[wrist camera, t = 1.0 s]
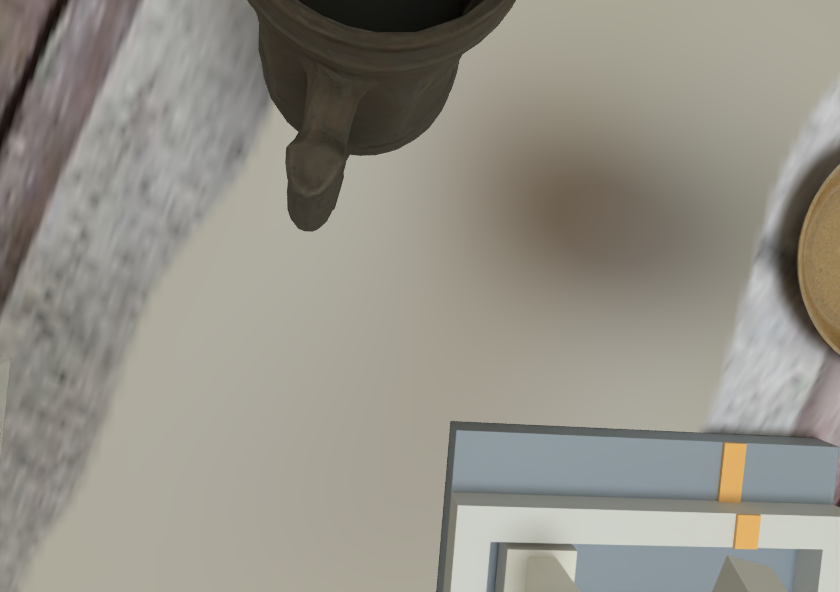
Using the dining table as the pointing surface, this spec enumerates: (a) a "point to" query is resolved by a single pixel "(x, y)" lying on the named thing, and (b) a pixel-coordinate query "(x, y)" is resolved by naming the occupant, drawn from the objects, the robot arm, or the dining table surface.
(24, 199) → the dining table surface
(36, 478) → the dining table surface
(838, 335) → the plant saucer
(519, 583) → the fader tab
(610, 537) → the console
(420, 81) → the beer stein
